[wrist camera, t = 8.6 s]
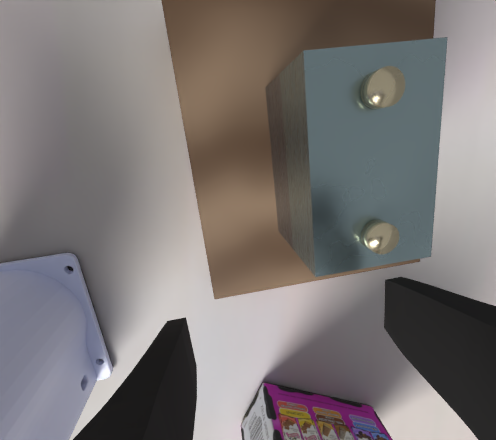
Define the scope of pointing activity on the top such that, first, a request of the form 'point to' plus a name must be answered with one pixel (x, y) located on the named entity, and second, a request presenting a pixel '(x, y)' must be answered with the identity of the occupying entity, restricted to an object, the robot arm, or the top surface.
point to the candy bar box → (308, 417)
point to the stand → (258, 115)
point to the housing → (358, 152)
